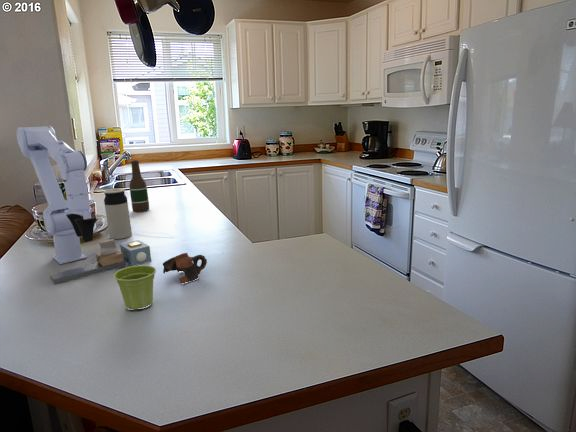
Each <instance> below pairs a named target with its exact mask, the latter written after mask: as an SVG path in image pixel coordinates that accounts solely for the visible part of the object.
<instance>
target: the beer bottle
mask: <svg viewBox="0 0 576 432" xmlns="http://www.w3.org/2000/svg"><path fill="white" fill-rule="evenodd" d="M130 164H131V179H130V181H129V185H128V186H129V193H130V202H131V209H132V211H133V212H134V213H144V212H147V211H149V210H150V201H149V193H148V187H147V182H146V180H145V179H144V178H143V176H142V174H141V169H140V168H141V167H140V161H139V160H137V159H133V160H131V161H130Z"/></svg>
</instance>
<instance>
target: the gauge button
mask: <svg viewBox="0 0 576 432" xmlns="http://www.w3.org/2000/svg"><path fill="white" fill-rule="evenodd" d="M137 246H141V243H139V242H134V243H129V244H128V247H130V248H132V247H137Z"/></svg>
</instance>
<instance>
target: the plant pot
mask: <svg viewBox="0 0 576 432" xmlns="http://www.w3.org/2000/svg"><path fill="white" fill-rule="evenodd" d="M156 273H157V269H156V267H154V266H151V265H145V264H144V265H143V264H139V265H135V266H128V267H124V268H122V269H119V270H117V271H116V272H115V273H114V274H113V278H114V280H116V283H117V285H118V286H119V289H120V294H121V295H122V299H123V303H124V306H125V308H126V307H127V308H129V309H138V308H143V307H146V306H148V305H150V304H151V303H152V302H153V300H154V279H155V274H156ZM152 304H153V303H152Z"/></svg>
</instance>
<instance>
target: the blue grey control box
mask: <svg viewBox="0 0 576 432" xmlns="http://www.w3.org/2000/svg"><path fill="white" fill-rule="evenodd" d="M134 242H139V243H141V246H137V247H132V248H130V247H128V244H129V243H134ZM119 248H120V252H121V253H123V259H124V260H126V263H127V264H129V265H130V266H131V265H132V266H134V265H135V266H139V265H142V264H141V263H143V264H146V263H149V261H150V262H152V255H151V247H150V245H149V244H147V243H145V242H143V241H142V240H138V239H137V240H133V241H129V242H124V243H120V244H119ZM145 262H146V263H145ZM138 264H139V265H138ZM132 266H131V267H132Z"/></svg>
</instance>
